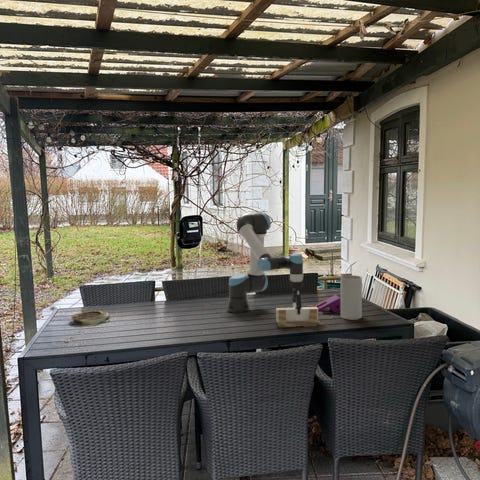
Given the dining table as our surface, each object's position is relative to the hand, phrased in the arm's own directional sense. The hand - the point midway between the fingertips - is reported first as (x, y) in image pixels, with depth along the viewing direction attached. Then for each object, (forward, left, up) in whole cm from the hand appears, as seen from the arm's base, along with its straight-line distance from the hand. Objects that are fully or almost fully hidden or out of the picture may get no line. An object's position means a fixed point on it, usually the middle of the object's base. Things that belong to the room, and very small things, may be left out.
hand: (296, 316), depth 250 cm
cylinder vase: (-11, +35, -5) cm, 37 cm away
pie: (-20, -128, -5) cm, 130 cm away
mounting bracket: (-27, +24, -5) cm, 36 cm away
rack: (0, 0, -5) cm, 5 cm away
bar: (0, +2, -2) cm, 3 cm away
